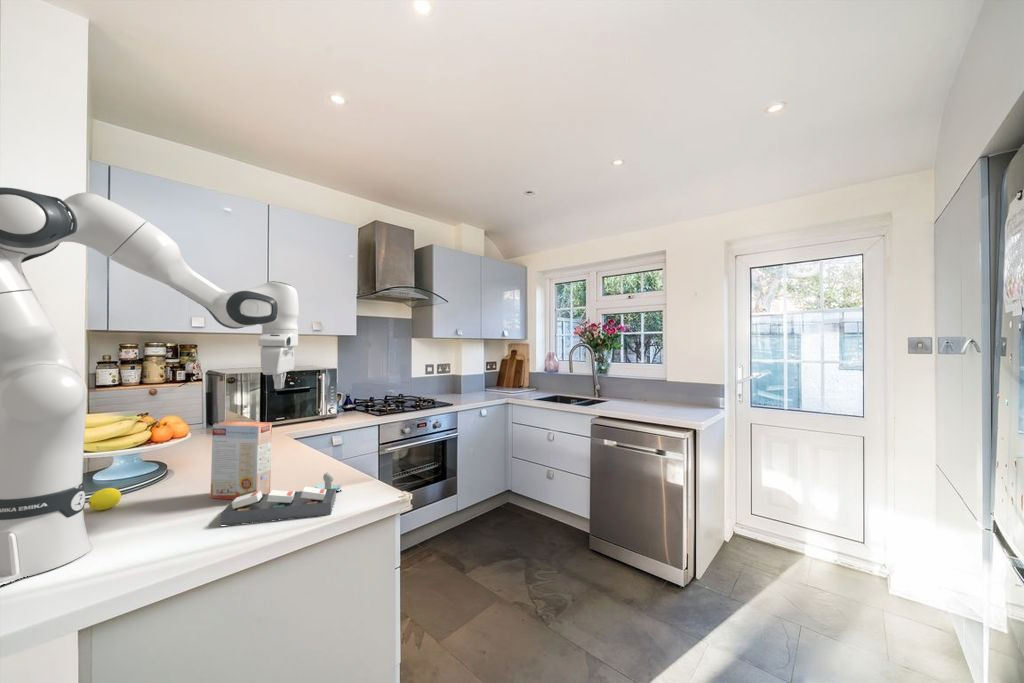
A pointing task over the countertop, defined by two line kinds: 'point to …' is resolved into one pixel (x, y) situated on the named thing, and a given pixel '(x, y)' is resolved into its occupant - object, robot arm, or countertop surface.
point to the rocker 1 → (247, 499)
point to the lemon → (104, 499)
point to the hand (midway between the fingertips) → (279, 388)
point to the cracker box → (240, 459)
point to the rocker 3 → (313, 493)
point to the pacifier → (328, 483)
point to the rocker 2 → (281, 496)
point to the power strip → (278, 509)
